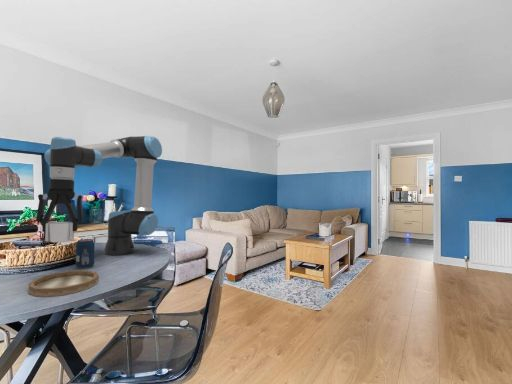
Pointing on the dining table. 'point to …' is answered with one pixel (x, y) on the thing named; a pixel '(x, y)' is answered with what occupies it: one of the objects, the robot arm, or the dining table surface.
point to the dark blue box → (85, 253)
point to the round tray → (63, 283)
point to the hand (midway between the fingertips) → (59, 240)
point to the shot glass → (59, 231)
